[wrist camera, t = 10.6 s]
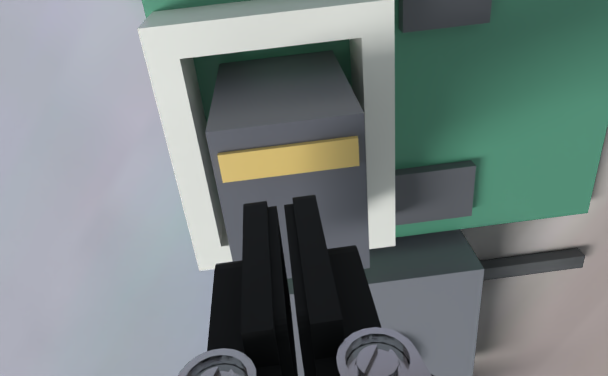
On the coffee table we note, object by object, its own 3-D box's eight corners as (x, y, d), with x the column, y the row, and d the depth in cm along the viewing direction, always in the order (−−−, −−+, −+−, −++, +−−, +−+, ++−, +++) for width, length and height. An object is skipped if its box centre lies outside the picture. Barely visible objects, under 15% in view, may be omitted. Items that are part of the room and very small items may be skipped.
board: (640, -96, 17) (718, -95, 14) (577, 203, 23) (623, 246, 20) (137, -40, 17) (113, -26, 14) (207, 250, 23) (200, 301, 20)
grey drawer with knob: (586, 211, 23) (637, 259, 20) (555, 347, 28) (593, 403, 25) (264, 252, 23) (265, 308, 20) (286, 383, 28) (290, 445, 24)
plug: (332, 50, 18) (365, 115, 13) (341, 184, 21) (371, 283, 15) (219, 63, 18) (204, 135, 12) (243, 196, 21) (239, 301, 15)
